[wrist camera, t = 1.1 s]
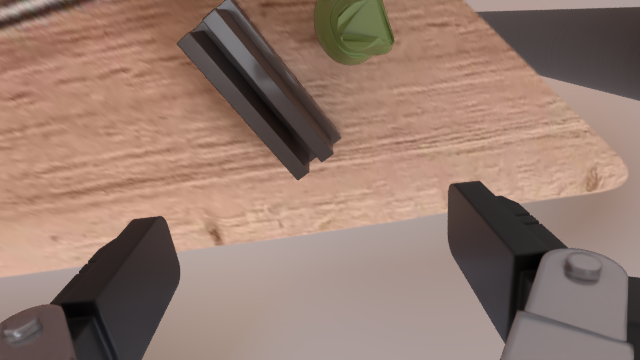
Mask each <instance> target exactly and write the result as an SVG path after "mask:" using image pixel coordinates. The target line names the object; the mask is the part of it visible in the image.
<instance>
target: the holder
mask: <svg viewBox="0 0 640 360" xmlns="http://www.w3.org/2000/svg"><path fill="white" fill-rule="evenodd" d="M177 45H178V46H179V47H180V48H181V49H182V51H183V52H184V53H185V54H186V55H187V56H188V57H189V58H190V60H191V61H192V62H193V63H194V64H195V65H196V66H197V68H198V69H199V70H200V71H201V72H202V73H203V74H204V75H205V77H206V78H207V79H208V80H209V81H210V82H211V83H212V84H213V86H214V87H215V88H216V89H217V90H218V91H219V92H220V93H221V95H222V96H223V97H224V98H225V99H226V100H227V101H228V103H229V104H230V105H231V106H232V107H233V108H234V109H235V110H236V112H237V113H238V114H239V115H240V116H241V117H242V118H243V119H244V121H245V122H246V123H247V124H248V125H249V126H250V127H251V128H252V130H253V131H254V132H255V133H256V134H257V135H258V136H259V138H260V139H261V140H262V141H263V142H264V143H265V144H266V145H267V147H268V148H269V149H270V150H271V151H272V152H273V153H274V154H275V156H276V157H277V158H278V159H279V160H280V161H281V162H282V163H283V165H284V166H285V167H286V168H287V169H288V170H289V171H290V173H291V174H292V175H293V176H294V177H295V178H296V179H297V180H299V179H301V178H302V177H303V176H305V175H306V174H307V173H309V162H310V161H312V160H313V159H314V158H316V157H317V158H318V159H319V160H320V161H321V162H323V161H325V160H326V159H327V158H329V157H330V156H331V155H333V154H334V153H333V147H332V145H333V144H334V143H335V142H337V141H338V140H339V139H341V136H340V133H339V132H338V130H337V129H336V128H335V127H334V125H333V124H332V123H331V121H330V120H329V119H328V118H327V116H326V115H325V114H324V113H323V111H322V110H321V109H320V108H319V106H318V105H317V104H316V103H315V101H314V100H313V99H312V98H311V96H310V95H309V94H308V93H307V91H306V90H305V89H304V88H303V86H302V85H301V84H300V83H299V81H298V80H297V79H296V77H295V76H294V75H293V74H292V72H291V71H290V70H289V69H288V67H287V66H286V65H285V64H284V62H283V61H282V60H281V59H280V57H279V56H278V55H277V54H276V52H275V51H274V50H273V49H272V47H271V46H270V45H269V44H268V42H267V41H266V40H265V39H264V37H263V36H262V35H261V33H260V32H259V31H258V30H257V28H256V27H255V26H254V25H253V23H252V22H251V21H250V20H249V18H248V17H247V16H246V15H245V13H244V12H243V11H242V10H241V8H240V7H239V6H238V5H237V3H236V2H235V1H234V0H225V1H224V2H223V3H222V4H221V5H219V6H218V7H217V8H216V9H213V10H212V11H211V12H210V13H209V14H208V15H207V16H206V17H205V18H203V20H202V22H201V23H200V24H199V25H198V26H197V27H196V28H195V29H194V30H193V31H191V32H188V33H187V34H186V35H185V36H184V37H183V38H182V39H181V40H180V41H179V42H177Z"/></svg>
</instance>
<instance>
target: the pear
mask: <svg viewBox="0 0 640 360" xmlns="http://www.w3.org/2000/svg"><path fill="white" fill-rule="evenodd" d="M314 27H315V32H316V35H317V38H318V40H319V42H320V44H321V46H322V48H323V49H324V51H325V52H326V53H327V54H328V55H329V56H330V57H331V58H332V59H333V60H335V61H336V62H338V63H341V64H344V65H356V64H360V63H362V62H364V61H366V60H368V59H369V58H370V57H371V56H373V55H383V54H386V53H388V52H389V51H390V50H391V48H392V45H393V44H394V37H393V33H392V30H391V27H390V24H389V20H388V17H387V14H386V11H385V7H384V4H383V1H382V0H318V1H317V3H316V6H315V10H314Z"/></svg>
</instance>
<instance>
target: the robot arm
mask: <svg viewBox="0 0 640 360" xmlns="http://www.w3.org/2000/svg"><path fill="white" fill-rule="evenodd" d="M448 242H449V247H450V250H451V253H452V255H453V257H454V259H455V261H456V262H457V264H458V265H459V267H460V269H461V271H462V272H463V274H464V275H465V277H466V279H467V281H468V282H469V284H470V286H471V288H472V289H473V291H474V293H475V294H476V296H477V298H478V299H479V301H480V302H481V304H482V306H483V308H484V309H485V311H486V312H487V314H488V316H489V318H490V319H491V321H492V323H493V324H494V326H495V328H496V329H497V331H498V333H499V334H500V336H501V338H502V339H503V341H504V343H505V347H504V350H503V353H502V355H501V358H500V360H640V278H636V277H629V276H628V275H627V273H626V271H625V270H624V269H623V267H621V266H620V265H619V264H618V263H617V262H615V261H614V260H612V259H610V258H608V257H606V256H603V255H601V254H598V253H595V252H592V251H588V250H583V249H574V248H568V247H566V246H565V245H564V244H563V243H562V242H561V241H560V240H559V239H558V238H556V237H555V236H554V235H553V234H552V233H551V232H550V231H549V230H547V229H546V228H545V227H544V226H543V225H542V224H539V221H538V220H536V219H535V218H534V217H533V216H532V215H530V214H529V212H527V211H526V210H525V209H524V208H523V207H522V206H521V205H520V204H519V203H517V202H514V201H512V200H510V199H508V198H505V197H503V196H495V195H494V194H493V193H492V192H491V191H490V190H488V189H487V188H486V187H485V186H484V185H483V184H482V183H481V182H480V181H472V182H463V183H454V184H451V185H450V186H449V190H448ZM179 280H180V265H179V261H178V257H177V254H176V251H175V247H174V244H173V241H172V238H171V234H170V231H169V228H168V224H167V222H166V220H165V219H164V218H163V217H162V216H158V217H149V218H140V219H134V220H132V221H131V222H130V223H129V224H128V226H127V227H126V228H125V229H124V230H123V231H122V232H121V234H120V235H119V236H118V237H117V238H115V239H114V240H112V241H111V242H109V243H108V244H106V245H105V246H103V247H102V248H100V249H99V250H98V251H97V252H96V253H95V254H94V255H93V257H92V258H91V259H90V260H89V261H88V264H85V265H84V267H83V268H82V269H81V270H80V271H79V274H77V275H75V276H74V278H73V279H72V280H71V281H70V282H69V283H68V284H67V285H66V286H65V288H64V289H63V290H62V291H61V292H60V293H59V294H58V295H57V296H56V297H55V299H54V300H53V301H52V302H51V303H50V304H47V305H41V306H36V307H32V308H29V309H26V310H24V311H21V312H19V313H17V314H15V315H13V316H11V317H9V318H8V319H6V320H4V321H3V322H1V323H0V360H142V358H143V355H144V353H145V351H146V349H147V347H148V345H149V343H150V341H151V339H152V337H153V335H154V333H155V331H156V329H157V327H158V325H159V323H160V321H161V318H162V317H163V315H164V313H165V311H166V309H167V307H168V305H169V303H170V301H171V299H172V296H173V295H174V292H175V290H176V288H177V286H178V284H179Z"/></svg>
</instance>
